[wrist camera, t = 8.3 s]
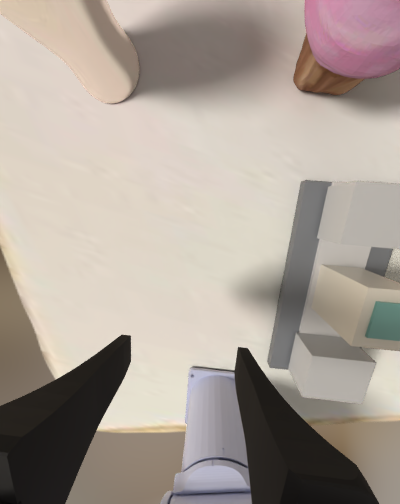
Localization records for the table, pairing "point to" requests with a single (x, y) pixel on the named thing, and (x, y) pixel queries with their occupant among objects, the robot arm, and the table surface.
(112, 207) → the table surface
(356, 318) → the block
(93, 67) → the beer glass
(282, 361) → the rail board
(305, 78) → the cupcake
